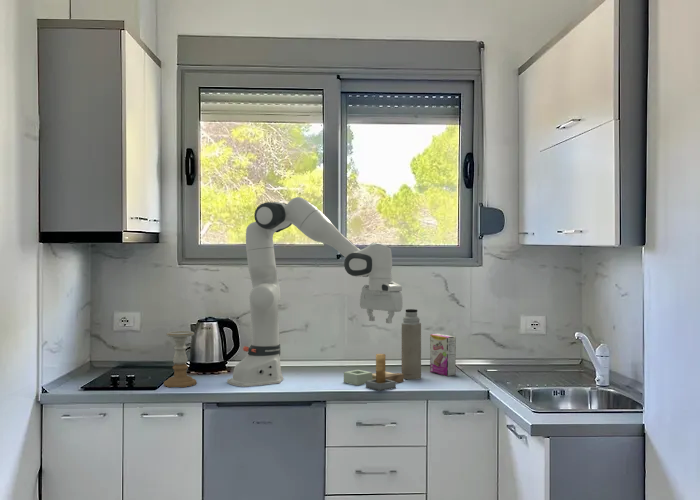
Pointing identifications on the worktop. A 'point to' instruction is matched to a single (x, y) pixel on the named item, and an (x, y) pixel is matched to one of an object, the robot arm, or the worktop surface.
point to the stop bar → (395, 377)
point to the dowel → (380, 368)
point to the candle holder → (180, 361)
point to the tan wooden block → (375, 375)
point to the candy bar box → (443, 354)
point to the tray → (381, 385)
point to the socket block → (357, 377)
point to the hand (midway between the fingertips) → (380, 322)
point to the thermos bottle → (411, 345)
